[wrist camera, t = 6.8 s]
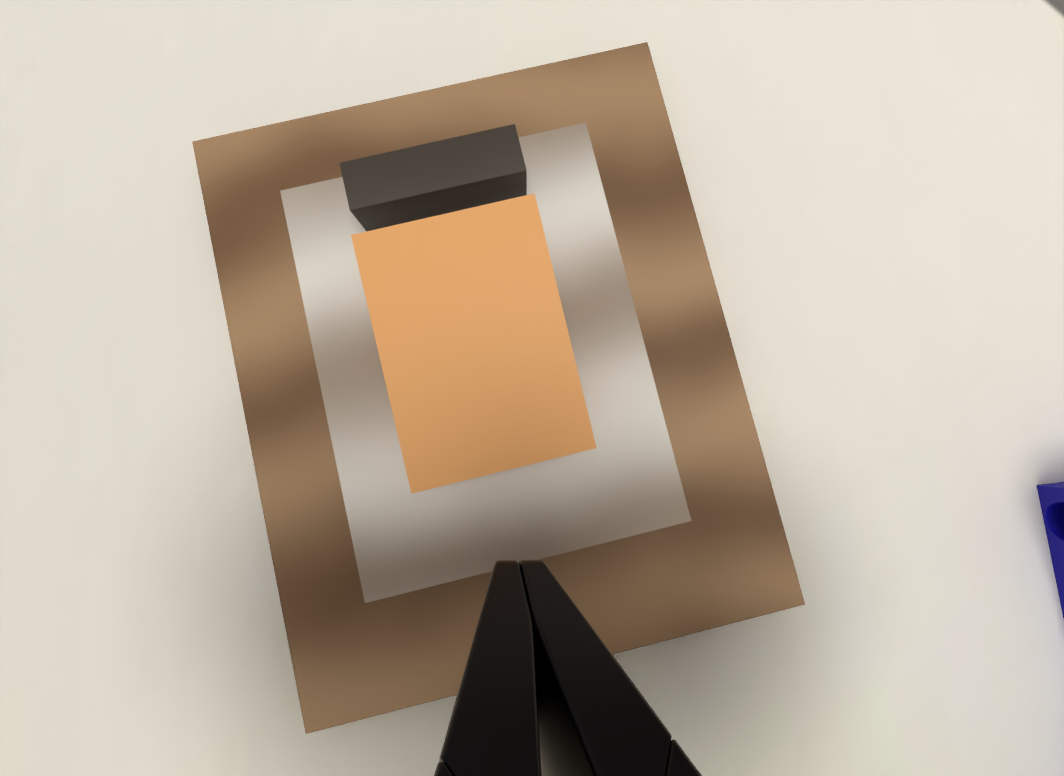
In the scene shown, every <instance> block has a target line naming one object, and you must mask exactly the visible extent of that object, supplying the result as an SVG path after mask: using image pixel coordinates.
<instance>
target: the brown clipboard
mask: <svg viewBox="0 0 1064 776" xmlns="http://www.w3.org/2000/svg"><path fill="white" fill-rule="evenodd" d="M193 147H194V152H195V158H196V163H197V168H198V173H199V178H200V184H201V189H202V194H203V199H204V205H205V210H206V215H207V220H208V225H209V231H210V236H211V241H212V246H213V252H214V257H215V262H216V267H217V272H218V278H219V283H220V288H221V293H222V298H223V304H224V309H225V314H226V319H227V325H228V330H229V335H230V340H231V345H232V351H233V356H234V361H235V366H236V372H237V377H238V382H239V387H240V392H241V398H242V403H243V408H244V413H245V419H246V424H247V429H248V434H249V439H250V445H251V450H252V455H253V460H254V466H255V471H256V476H257V481H258V486H259V492H260V497H261V502H262V507H263V513H264V518H265V523H266V528H267V533H268V539H269V544H270V549H271V554H272V560H273V565H274V570H275V575H276V580H277V586H278V591H279V596H280V601H281V607H282V612H283V617H284V622H285V627H286V633H287V638H288V643H289V648H290V654H291V659H292V664H293V669H294V674H295V680H296V685H297V690H298V695H299V700H300V706H301V711H302V716H303V721H304V727H305V732H306V734H307V733H311V732H315V731H318V730H322V729H326V728H330V727H334V726H338V725H342V724H345V723H349V722H353V721H357V720H361V719H365V718H369V717H372V716H376V715H380V714H384V713H388V712H392V711H396V710H399V709H403V708H407V707H411V706H415V705H419V704H423V703H426V702H430V701H434V700H438V699H442V698H446V697H449V696H453V695H457V694H458V691H459V688H460V684H461V681H462V677H463V674H464V670H465V667H466V663H467V659H468V656H469V652H470V649H471V645H472V642H473V638H474V635H475V631H476V628H477V624H478V620H479V617H480V613H481V610H482V606H483V603H484V599H485V596H486V592H487V588H488V585H489V581H490V578H491V574H492V571H493V567H494V564H495V562H496V561H497V560H517V561H518V563H519V561H521V560H533V559H538V560H542V561H543V562H544V563H545V564H546V566H547V567H548V568H549V570H550V571H551V572H552V574H553V575H554V576H555V578H556V579H557V580H558V582H559V583H560V585H561V586H562V587H563V589H564V590H565V591H566V593H567V594H568V595H569V597H570V598H571V599H572V601H573V602H574V604H575V605H576V606H577V608H578V609H579V610H580V612H581V613H582V614H583V616H584V617H585V618H586V620H587V621H588V623H589V624H590V625H591V627H592V628H593V629H594V631H595V632H596V633H597V635H598V636H599V637H600V639H601V640H602V642H603V643H604V644H605V646H606V647H607V648H608V650H609V651H610V652H611V654H615V653H619V652H623V651H627V650H631V649H635V648H638V647H642V646H646V645H650V644H654V643H658V642H662V641H665V640H669V639H673V638H677V637H681V636H685V635H689V634H692V633H696V632H700V631H704V630H708V629H712V628H715V627H719V626H723V625H727V624H731V623H735V622H739V621H742V620H746V619H750V618H754V617H758V616H762V615H766V614H769V613H773V612H777V611H781V610H785V609H789V608H793V607H796V606H800V605H804V604H805V603H804V599H803V596H802V592H801V589H800V585H799V581H798V578H797V574H796V571H795V567H794V564H793V560H792V557H791V553H790V549H789V546H788V542H787V539H786V535H785V532H784V528H783V524H782V521H781V517H780V514H779V510H778V507H777V503H776V500H775V496H774V492H773V489H772V485H771V482H770V478H769V475H768V471H767V467H766V464H765V460H764V457H763V453H762V450H761V446H760V442H759V439H758V435H757V432H756V428H755V425H754V421H753V418H752V414H751V410H750V407H749V403H748V400H747V396H746V393H745V389H744V385H743V382H742V378H741V375H740V371H739V368H738V364H737V360H736V357H735V353H734V350H733V346H732V343H731V339H730V336H729V332H728V328H727V325H726V321H725V318H724V314H723V311H722V307H721V303H720V300H719V296H718V293H717V289H716V286H715V282H714V278H713V275H712V271H711V268H710V264H709V261H708V257H707V254H706V250H705V246H704V243H703V239H702V236H701V232H700V229H699V225H698V221H697V218H696V214H695V211H694V207H693V204H692V200H691V197H690V193H689V189H688V186H687V182H686V179H685V175H684V172H683V168H682V164H681V161H680V157H679V154H678V150H677V147H676V143H675V139H674V136H673V132H672V129H671V125H670V122H669V118H668V115H667V111H666V107H665V104H664V100H663V97H662V93H661V90H660V86H659V82H658V79H657V75H656V72H655V68H654V65H653V61H652V57H651V54H650V50H649V47H648V43H647V42H646V43H642V44H637V45H632V46H628V47H623V48H619V49H614V50H610V51H605V52H600V53H596V54H591V55H587V56H582V57H578V58H573V59H568V60H564V61H559V62H555V63H550V64H546V65H541V66H536V67H532V68H527V69H523V70H518V71H514V72H509V73H504V74H500V75H495V76H491V77H486V78H481V79H477V80H472V81H468V82H463V83H459V84H454V85H449V86H445V87H440V88H436V89H431V90H427V91H422V92H417V93H413V94H408V95H404V96H399V97H395V98H390V99H385V100H381V101H376V102H372V103H367V104H363V105H358V106H353V107H349V108H344V109H340V110H335V111H331V112H326V113H321V114H317V115H312V116H308V117H303V118H299V119H294V120H289V121H285V122H280V123H276V124H271V125H267V126H262V127H257V128H253V129H248V130H244V131H239V132H235V133H230V134H225V135H221V136H216V137H212V138H207V139H203V140H198V141H193ZM534 193H535V197H536V201H537V205H538V209H539V213H540V218H541V222H542V226H543V230H544V234H545V238H546V242H547V246H548V250H549V255H550V259H551V263H552V267H553V271H554V275H555V279H556V283H557V287H558V292H559V296H560V300H561V304H562V308H563V312H564V316H565V320H566V324H567V329H568V333H569V337H570V341H571V345H572V349H573V353H574V357H575V361H576V366H577V370H578V374H579V378H580V382H581V386H582V390H583V394H584V398H585V403H586V407H587V411H588V415H589V419H590V423H591V427H592V431H593V435H594V440H595V444H596V448H595V449H591V450H587V451H583V452H579V453H575V454H571V455H567V456H563V457H559V458H555V459H550V460H546V461H542V462H538V463H534V464H530V465H526V466H522V467H518V468H514V469H510V470H506V471H502V472H497V473H493V474H489V475H485V476H481V477H477V478H473V479H469V480H465V481H461V482H457V483H453V484H449V485H444V486H440V487H436V488H432V489H428V490H424V491H420V492H416V493H412V494H411V490H410V485H409V481H408V477H407V472H406V468H405V464H404V460H403V455H402V451H401V447H400V443H399V438H398V434H397V430H396V426H395V421H394V417H393V413H392V408H391V404H390V400H389V396H388V391H387V387H386V383H385V379H384V374H383V370H382V366H381V361H380V357H379V353H378V349H377V344H376V340H375V336H374V332H373V327H372V323H371V319H370V314H369V310H368V306H367V302H366V297H365V293H364V289H363V285H362V280H361V276H360V272H359V268H358V263H357V259H356V255H355V250H354V246H353V242H352V238H351V235H353V234H358V233H362V232H367V231H371V230H375V229H380V228H384V227H389V226H393V225H397V224H402V223H406V222H411V221H415V220H419V219H424V218H428V217H433V216H437V215H442V214H446V213H450V212H455V211H459V210H464V209H468V208H472V207H477V206H481V205H486V204H490V203H494V202H499V201H503V200H508V199H512V198H516V197H521V196H525V195H530V194H534Z"/></svg>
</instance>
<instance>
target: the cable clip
mask: <svg viewBox="0 0 1064 776" xmlns="http://www.w3.org/2000/svg"><path fill="white" fill-rule="evenodd" d="M1037 490H1038V494H1039V499H1040V504H1041V509H1042V514H1043V519H1044V524H1045V529H1046V534H1047V539H1048V544H1049V548H1050V553H1051V558H1052V563H1053V568H1054V573H1055V578H1056V583H1057V588H1058V593H1059V598H1060V603H1061V607H1062V612H1063V617H1064V482H1059V483H1051V484H1043V485H1037Z"/></svg>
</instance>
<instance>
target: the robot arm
mask: <svg viewBox="0 0 1064 776" xmlns="http://www.w3.org/2000/svg"><path fill="white" fill-rule="evenodd" d="M434 776H702V775H701V774H700V773H699V771H698V770H697V769H696V767H695V766H694V765H693V764H692V762H691V761H690V759H689V758H688V757H687V755H686V754H685V753H684V751H683V750H682V748H681V747H680V746H679V744H678V743H677V742H676V741H675V740H671V734H670V732H669V731H668V730H667V728H666V727H665V726H664V724H663V723H662V722H661V720H660V719H659V718H658V716H657V715H656V713H655V712H654V711H653V709H652V708H651V707H650V705H649V704H648V703H647V701H646V700H645V699H644V697H643V696H642V694H641V693H640V692H639V690H638V689H637V688H636V686H635V685H634V684H633V682H632V681H631V680H630V678H629V677H628V675H627V674H626V673H625V671H624V670H623V669H622V667H621V666H620V665H619V663H618V662H617V661H616V659H615V658H614V656H613V655H612V654H611V652H610V651H609V650H608V648H607V647H606V646H605V644H604V643H603V642H602V640H601V639H600V637H599V636H598V635H597V633H596V632H595V631H594V629H593V628H592V627H591V625H590V624H589V623H588V621H587V620H586V618H585V617H584V616H583V614H582V613H581V612H580V610H579V609H578V608H577V606H576V605H575V604H574V602H573V601H572V599H571V598H570V597H569V595H568V594H567V593H566V591H565V590H564V589H563V587H562V586H561V585H560V583H559V582H558V580H557V579H556V578H555V576H554V575H553V574H552V572H551V571H550V570H549V568H548V567H547V566H546V564H545V563H544V562H543V561H542V560H538V559H533V560H521V561H519V563H518V561H517V560H497V561H496V562H495V564H494V567H493V571H492V574H491V578H490V581H489V585H488V588H487V592H486V596H485V599H484V603H483V606H482V610H481V613H480V617H479V620H478V624H477V628H476V631H475V635H474V638H473V642H472V645H471V649H470V652H469V656H468V659H467V663H466V667H465V670H464V674H463V677H462V681H461V684H460V688H459V691H458V695H457V698H456V702H455V706H454V709H453V713H452V716H451V720H450V723H449V727H448V730H447V734H446V737H445V741H444V745H443V748H442V752H441V755H440V762H439V763H438V765H437V768H436V772H435V775H434Z"/></svg>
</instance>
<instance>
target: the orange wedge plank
mask: <svg viewBox="0 0 1064 776" xmlns="http://www.w3.org/2000/svg"><path fill="white" fill-rule="evenodd" d="M351 238H352V242H353V246H354V250H355V255H356V259H357V263H358V268H359V272H360V276H361V280H362V285H363V289H364V293H365V297H366V302H367V306H368V310H369V314H370V319H371V323H372V327H373V332H374V336H375V340H376V344H377V349H378V353H379V357H380V361H381V366H382V370H383V374H384V379H385V383H386V387H387V391H388V396H389V400H390V404H391V408H392V413H393V417H394V421H395V426H396V430H397V434H398V438H399V443H400V447H401V451H402V455H403V460H404V464H405V468H406V472H407V477H408V481H409V485H410V490H411V494H412V493H416V492H420V491H424V490H428V489H432V488H436V487H440V486H444V485H449V484H453V483H457V482H461V481H465V480H469V479H473V478H477V477H481V476H485V475H489V474H493V473H497V472H502V471H506V470H510V469H514V468H518V467H522V466H526V465H530V464H534V463H538V462H542V461H546V460H550V459H555V458H559V457H563V456H567V455H571V454H575V453H579V452H583V451H587V450H591V449H595V448H596V444H595V440H594V435H593V431H592V427H591V423H590V419H589V415H588V411H587V407H586V403H585V398H584V394H583V390H582V386H581V382H580V378H579V374H578V370H577V366H576V361H575V357H574V353H573V349H572V345H571V341H570V337H569V333H568V329H567V324H566V320H565V316H564V312H563V308H562V304H561V300H560V296H559V292H558V287H557V283H556V279H555V275H554V271H553V267H552V263H551V259H550V255H549V250H548V246H547V242H546V238H545V234H544V230H543V226H542V222H541V218H540V213H539V209H538V205H537V201H536V197H535V193H534V194H530V195H525V196H521V197H516V198H512V199H508V200H503V201H499V202H494V203H490V204H486V205H481V206H477V207H472V208H468V209H464V210H459V211H455V212H450V213H446V214H442V215H437V216H433V217H428V218H424V219H419V220H415V221H411V222H406V223H402V224H397V225H393V226H389V227H384V228H380V229H375V230H371V231H367V232H362V233H358V234H353V235H351Z"/></svg>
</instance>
